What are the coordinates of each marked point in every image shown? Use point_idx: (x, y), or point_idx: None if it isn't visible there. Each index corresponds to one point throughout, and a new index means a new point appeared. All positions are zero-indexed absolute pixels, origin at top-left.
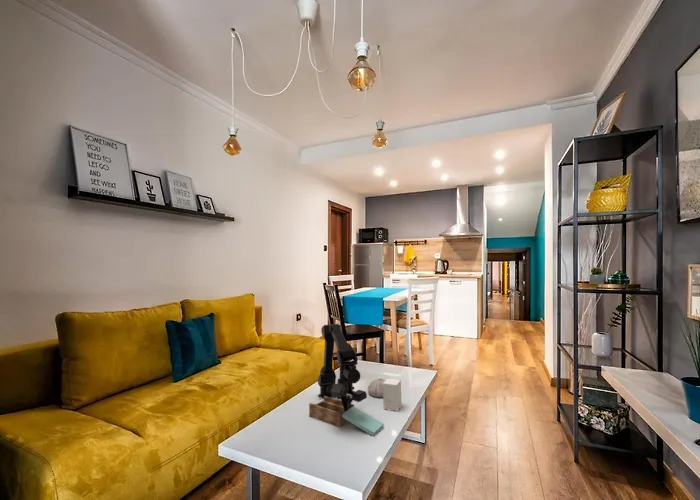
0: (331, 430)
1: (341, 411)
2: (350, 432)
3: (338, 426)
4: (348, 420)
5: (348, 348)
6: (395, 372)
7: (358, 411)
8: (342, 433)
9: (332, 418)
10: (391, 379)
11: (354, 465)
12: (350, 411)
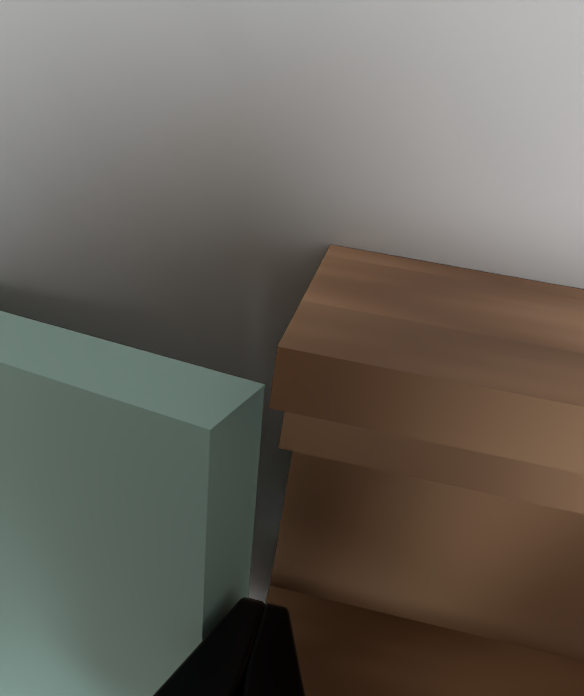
0: (432, 39)
1: (504, 689)
2: (43, 166)
3: (355, 252)
4: (81, 338)
5: None
6: None
7: (38, 684)
8: (146, 46)
9: (557, 321)
10: None
11: None
12: (130, 621)
